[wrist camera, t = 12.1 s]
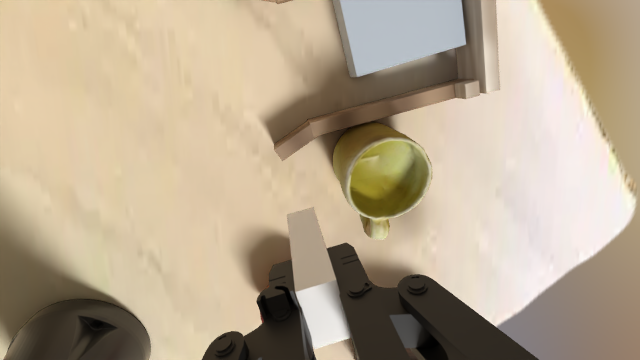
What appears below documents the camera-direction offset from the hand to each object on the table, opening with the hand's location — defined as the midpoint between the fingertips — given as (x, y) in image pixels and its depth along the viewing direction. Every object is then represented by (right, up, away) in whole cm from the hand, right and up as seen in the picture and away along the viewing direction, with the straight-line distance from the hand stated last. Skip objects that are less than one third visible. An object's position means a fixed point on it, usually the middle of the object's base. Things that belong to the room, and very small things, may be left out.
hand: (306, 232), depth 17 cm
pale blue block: (+9, +20, +17) cm, 28 cm away
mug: (+6, +4, +22) cm, 23 cm away
